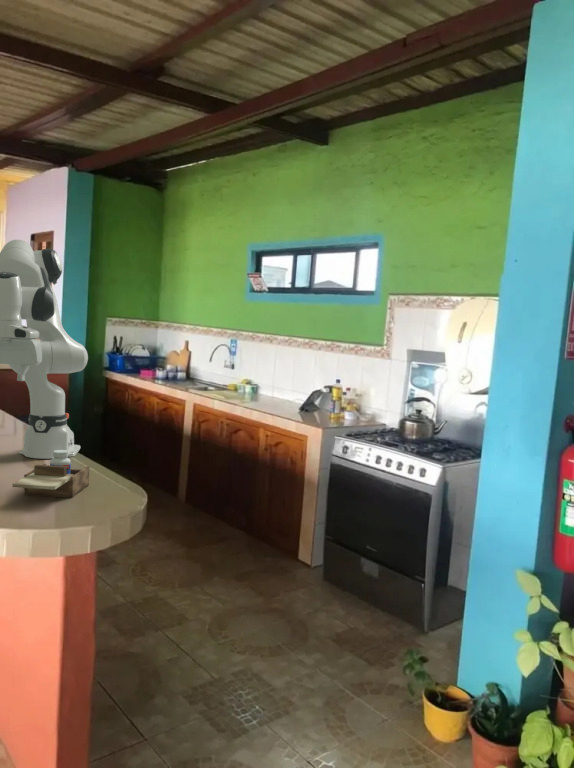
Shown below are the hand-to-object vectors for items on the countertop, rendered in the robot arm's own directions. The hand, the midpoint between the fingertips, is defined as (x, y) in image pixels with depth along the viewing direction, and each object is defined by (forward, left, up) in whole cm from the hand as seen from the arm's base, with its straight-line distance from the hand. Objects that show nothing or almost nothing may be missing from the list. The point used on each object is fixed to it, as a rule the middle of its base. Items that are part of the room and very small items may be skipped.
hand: (4, 379), depth 179 cm
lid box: (+6, +18, -29) cm, 35 cm away
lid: (+15, +18, -24) cm, 34 cm away
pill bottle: (+4, +18, -28) cm, 34 cm away
